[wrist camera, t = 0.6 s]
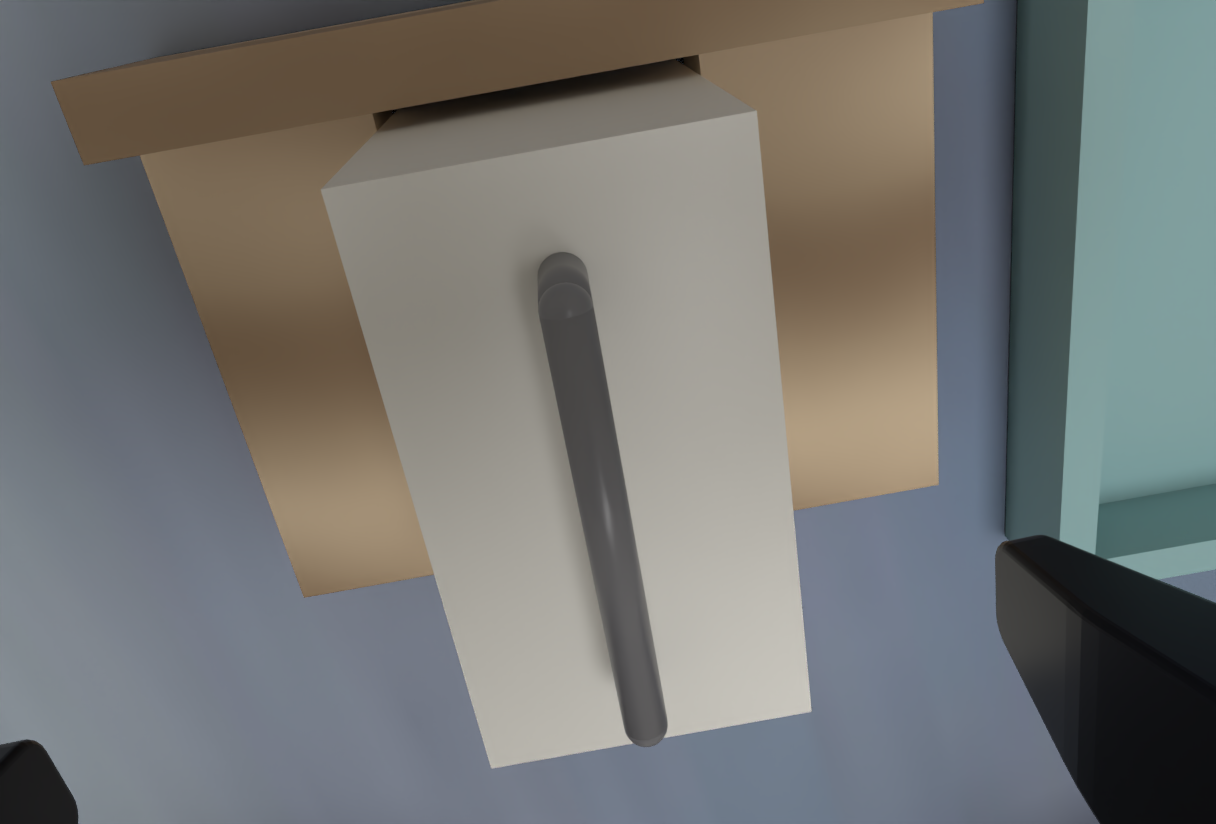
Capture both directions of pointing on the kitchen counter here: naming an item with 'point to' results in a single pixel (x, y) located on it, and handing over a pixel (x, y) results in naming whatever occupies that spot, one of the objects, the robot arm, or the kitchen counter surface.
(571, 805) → the kitchen counter surface
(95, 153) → the bay
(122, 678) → the kitchen counter surface
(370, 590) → the kitchen counter surface
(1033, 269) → the tray
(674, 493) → the white handled drawer
